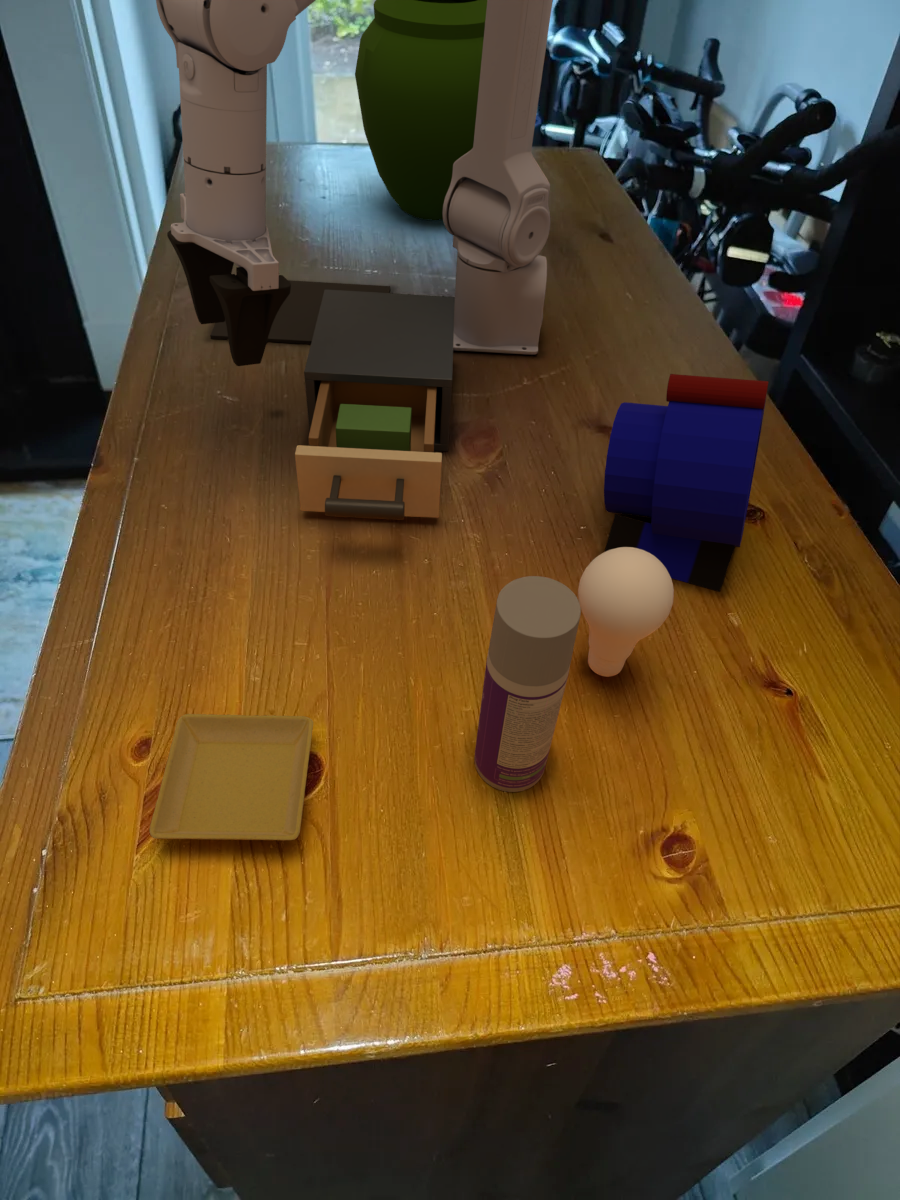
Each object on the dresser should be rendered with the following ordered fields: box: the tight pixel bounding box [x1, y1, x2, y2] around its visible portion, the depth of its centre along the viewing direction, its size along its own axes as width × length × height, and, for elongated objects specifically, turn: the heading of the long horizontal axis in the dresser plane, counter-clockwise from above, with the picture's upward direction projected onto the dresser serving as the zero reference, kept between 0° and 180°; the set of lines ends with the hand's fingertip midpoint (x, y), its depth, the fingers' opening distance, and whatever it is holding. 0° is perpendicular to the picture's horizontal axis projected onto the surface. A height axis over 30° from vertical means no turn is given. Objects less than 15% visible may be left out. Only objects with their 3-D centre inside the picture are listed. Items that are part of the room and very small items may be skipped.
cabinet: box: [303, 290, 455, 452], centre depth 79 cm, size 15×13×8 cm
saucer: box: [148, 713, 314, 841], centre depth 52 cm, size 9×9×2 cm
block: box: [336, 404, 412, 451], centre depth 71 cm, size 6×4×4 cm, turn 89°
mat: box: [209, 279, 391, 345], centre depth 93 cm, size 18×13×1 cm
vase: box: [354, 0, 487, 221], centre depth 105 cm, size 20×20×24 cm
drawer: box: [294, 380, 443, 521], centre depth 71 cm, size 18×11×6 cm, turn 179°
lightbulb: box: [577, 547, 675, 678], centre depth 57 cm, size 6×6×11 cm
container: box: [474, 575, 582, 793], centre depth 50 cm, size 5×5×15 cm
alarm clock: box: [603, 373, 770, 593], centre depth 66 cm, size 12×12×15 cm
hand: (229, 341), depth 69 cm, fingers open, 7 cm apart
